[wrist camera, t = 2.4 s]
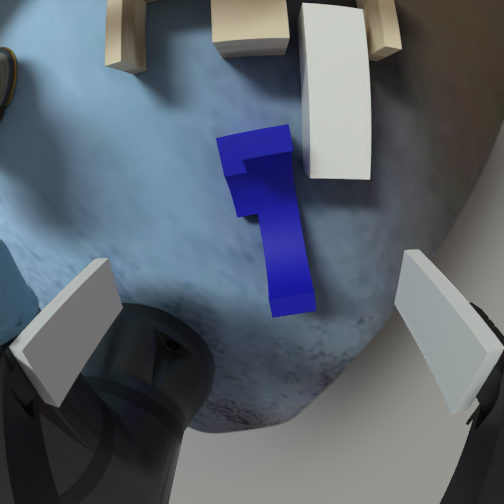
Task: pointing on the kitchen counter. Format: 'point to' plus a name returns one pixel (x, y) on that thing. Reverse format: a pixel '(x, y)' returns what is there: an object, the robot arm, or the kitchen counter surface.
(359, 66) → the white rectangular bar
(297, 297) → the blue stepped long piece
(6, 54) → the apothecary jar
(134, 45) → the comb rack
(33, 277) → the kitchen counter surface
